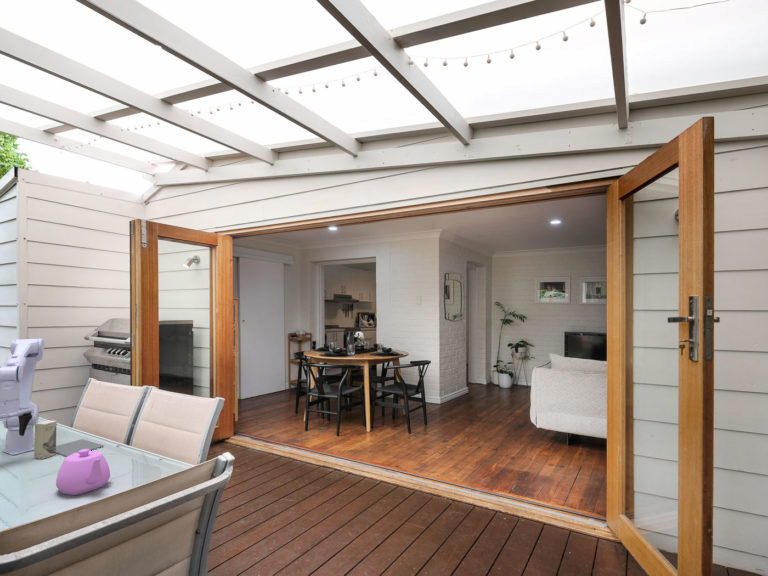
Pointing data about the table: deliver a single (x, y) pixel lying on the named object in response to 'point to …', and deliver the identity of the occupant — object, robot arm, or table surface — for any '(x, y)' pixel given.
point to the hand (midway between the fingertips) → (8, 438)
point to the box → (45, 439)
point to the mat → (76, 447)
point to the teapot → (82, 472)
